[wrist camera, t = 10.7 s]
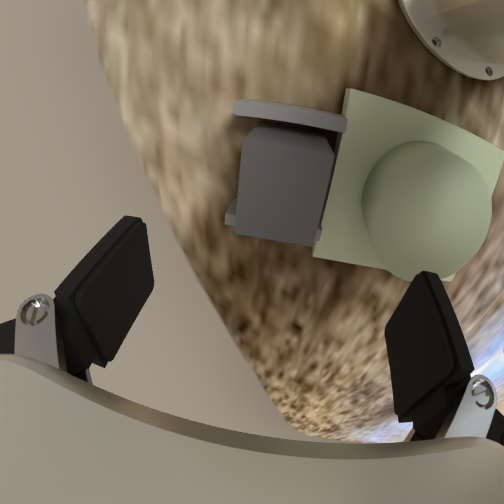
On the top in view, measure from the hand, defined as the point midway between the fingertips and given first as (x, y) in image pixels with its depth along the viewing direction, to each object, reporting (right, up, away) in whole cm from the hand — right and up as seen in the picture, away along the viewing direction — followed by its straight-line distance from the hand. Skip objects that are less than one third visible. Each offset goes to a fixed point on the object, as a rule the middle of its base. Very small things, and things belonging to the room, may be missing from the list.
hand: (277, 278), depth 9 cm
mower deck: (+9, +7, +12) cm, 16 cm away
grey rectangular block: (+2, +8, +12) cm, 15 cm away
